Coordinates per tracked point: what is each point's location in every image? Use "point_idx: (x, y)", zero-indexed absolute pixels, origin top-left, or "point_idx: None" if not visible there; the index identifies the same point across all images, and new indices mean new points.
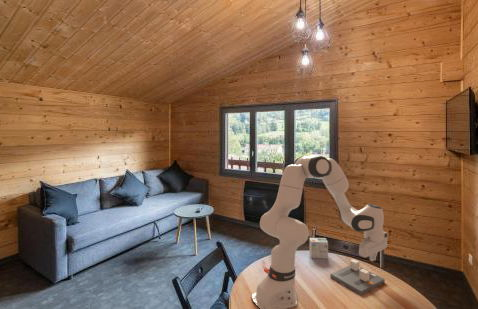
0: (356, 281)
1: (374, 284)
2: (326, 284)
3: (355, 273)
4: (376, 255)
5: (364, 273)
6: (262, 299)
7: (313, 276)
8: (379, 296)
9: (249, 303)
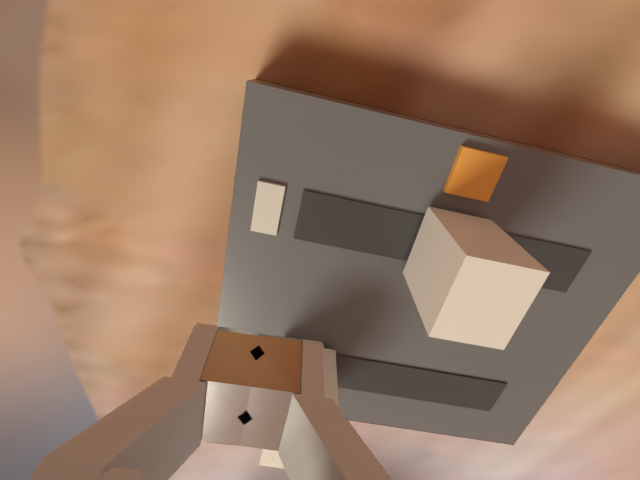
0: None
1: (468, 133)
2: (614, 400)
3: (373, 335)
4: (139, 409)
5: (531, 284)
6: None
7: (553, 474)
8: (594, 24)
9: None
